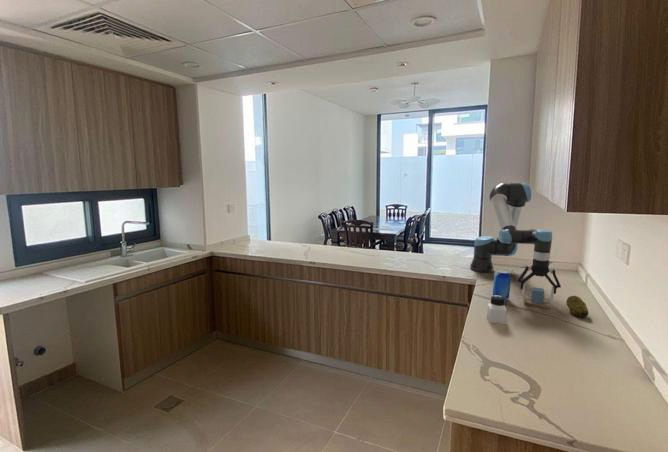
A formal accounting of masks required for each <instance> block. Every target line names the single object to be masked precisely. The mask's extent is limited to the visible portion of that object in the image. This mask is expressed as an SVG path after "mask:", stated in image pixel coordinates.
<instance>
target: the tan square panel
mask: <svg viewBox="0 0 668 452" xmlns="http://www.w3.org/2000/svg"><path fill="white" fill-rule="evenodd" d="M523 304H524V306H530V307H537V308H543V309H550V310H551V303H550V300H549V298H545V297H544V299H543V304H541V303H534V302H531V295H524V296H523Z"/></svg>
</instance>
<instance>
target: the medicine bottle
mask: <svg viewBox="0 0 668 452" xmlns="http://www.w3.org/2000/svg"><path fill="white" fill-rule="evenodd" d="M486 311H487V312H486V318H487V319H488V321H489V323H490V324H500V325H501V324H502V325H506V323H507V313H508V312H507V308H506V307H505V299H504V298H503V297H501V296H497V295H495V296H493V295H492V296H491V297H490V302H489V303H487V309H486Z"/></svg>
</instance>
